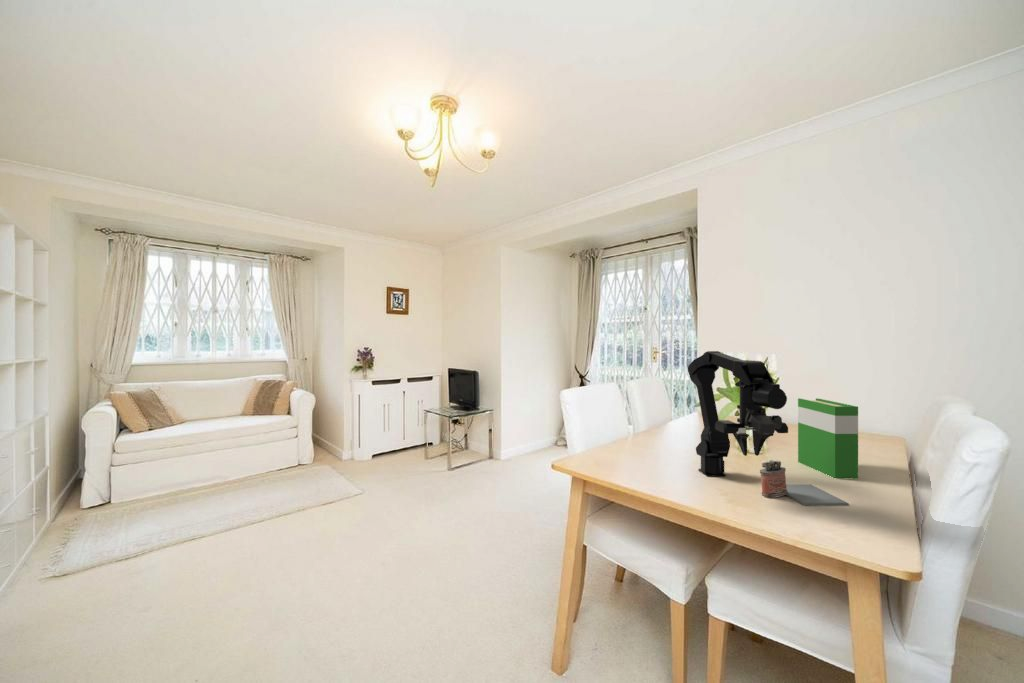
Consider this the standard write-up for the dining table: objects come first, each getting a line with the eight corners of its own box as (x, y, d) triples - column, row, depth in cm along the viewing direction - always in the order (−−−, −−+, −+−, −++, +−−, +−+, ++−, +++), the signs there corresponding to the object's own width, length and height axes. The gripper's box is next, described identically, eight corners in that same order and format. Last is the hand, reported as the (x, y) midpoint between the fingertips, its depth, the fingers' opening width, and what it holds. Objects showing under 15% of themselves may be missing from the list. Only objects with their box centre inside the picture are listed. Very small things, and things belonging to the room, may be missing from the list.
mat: (803, 505, 109) (803, 503, 109) (770, 486, 123) (770, 484, 123) (848, 505, 109) (848, 503, 109) (810, 486, 123) (810, 484, 123)
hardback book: (798, 461, 147) (798, 398, 147) (818, 462, 146) (818, 398, 146) (835, 478, 129) (835, 406, 129) (858, 478, 129) (858, 406, 129)
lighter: (780, 489, 119) (777, 457, 119) (790, 493, 115) (788, 460, 115) (758, 494, 117) (755, 461, 117) (768, 498, 113) (765, 464, 113)
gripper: (734, 408, 108) (734, 464, 108) (802, 407, 108) (802, 464, 108) (714, 401, 119) (714, 452, 119) (775, 401, 119) (775, 452, 119)
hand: (750, 455), depth 116 cm, fingers open, 3 cm apart
